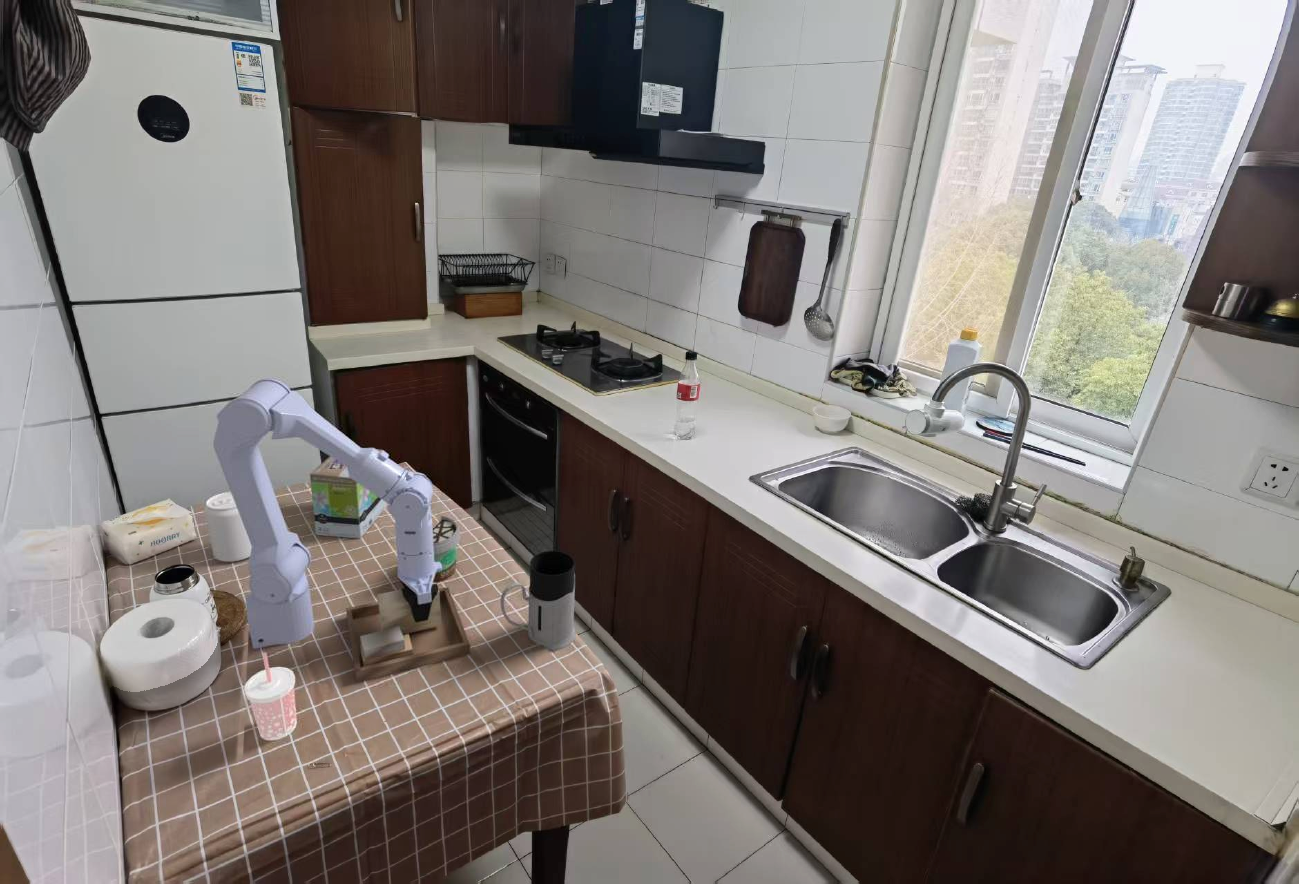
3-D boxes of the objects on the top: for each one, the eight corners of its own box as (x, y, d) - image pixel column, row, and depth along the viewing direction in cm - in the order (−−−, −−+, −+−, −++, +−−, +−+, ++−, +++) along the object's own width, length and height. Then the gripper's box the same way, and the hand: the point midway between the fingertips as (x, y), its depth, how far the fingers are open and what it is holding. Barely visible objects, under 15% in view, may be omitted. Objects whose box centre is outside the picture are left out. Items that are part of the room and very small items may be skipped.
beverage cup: (291, 708, 100) (277, 632, 94) (310, 730, 96) (298, 653, 91) (246, 731, 95) (230, 653, 90) (266, 756, 92) (249, 676, 86)
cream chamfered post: (383, 639, 112) (379, 604, 110) (381, 628, 115) (377, 594, 112) (441, 625, 117) (439, 592, 114) (437, 615, 119) (435, 582, 116)
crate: (357, 686, 104) (355, 672, 103) (347, 621, 118) (345, 608, 117) (470, 657, 112) (469, 644, 111) (448, 599, 126) (448, 587, 125)
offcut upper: (365, 660, 106) (364, 650, 105) (361, 646, 109) (360, 636, 108) (405, 649, 109) (404, 639, 108) (399, 635, 112) (398, 625, 111)
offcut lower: (364, 671, 106) (362, 661, 106) (361, 654, 110) (360, 645, 109) (413, 658, 110) (412, 649, 109) (409, 643, 113) (408, 633, 112)
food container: (443, 596, 127) (441, 551, 123) (413, 590, 127) (410, 545, 124) (472, 561, 138) (471, 519, 134) (444, 556, 139) (442, 514, 135)
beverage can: (263, 557, 134) (254, 504, 129) (215, 568, 129) (204, 513, 124) (258, 538, 140) (249, 487, 135) (212, 548, 135) (201, 495, 130)
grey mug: (585, 637, 119) (588, 566, 113) (515, 671, 110) (515, 596, 104) (557, 612, 125) (559, 543, 119) (488, 643, 116) (487, 569, 110)
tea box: (362, 539, 142) (356, 477, 136) (315, 536, 142) (306, 473, 136) (389, 505, 156) (384, 447, 150) (345, 502, 156) (339, 444, 150)
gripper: (449, 565, 106) (452, 634, 111) (432, 521, 118) (435, 585, 123) (402, 573, 103) (407, 644, 108) (389, 528, 115) (394, 593, 120)
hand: (419, 613), depth 115 cm, fingers closed on cream chamfered post, 3 cm apart
